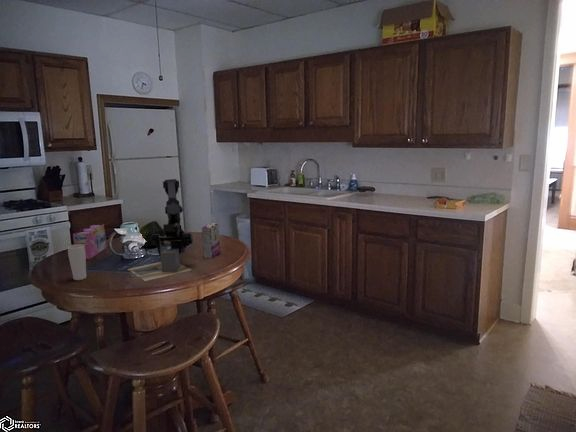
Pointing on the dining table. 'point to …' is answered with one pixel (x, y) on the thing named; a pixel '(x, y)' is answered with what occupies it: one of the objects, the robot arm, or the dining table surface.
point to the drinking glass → (77, 261)
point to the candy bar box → (211, 240)
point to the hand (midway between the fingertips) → (169, 254)
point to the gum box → (91, 239)
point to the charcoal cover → (170, 260)
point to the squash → (151, 232)
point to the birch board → (154, 271)
